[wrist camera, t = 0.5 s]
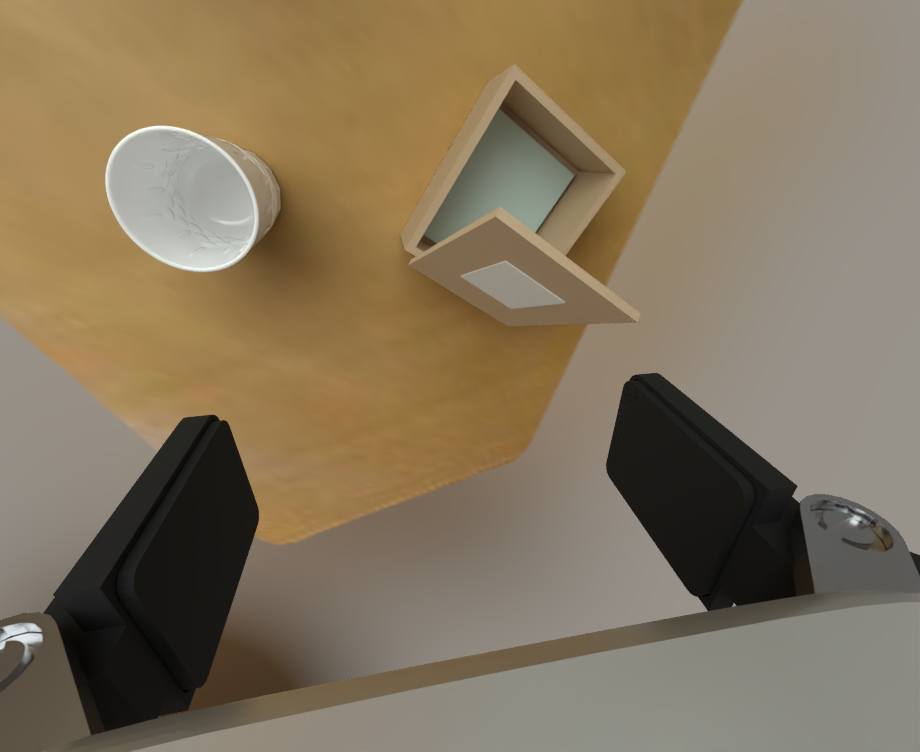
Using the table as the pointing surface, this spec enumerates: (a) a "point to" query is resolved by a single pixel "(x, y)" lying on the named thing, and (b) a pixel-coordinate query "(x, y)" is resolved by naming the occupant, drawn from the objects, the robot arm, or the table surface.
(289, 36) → the table surface
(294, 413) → the table surface
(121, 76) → the table surface
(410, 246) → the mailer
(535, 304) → the lid
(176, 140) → the white cup
